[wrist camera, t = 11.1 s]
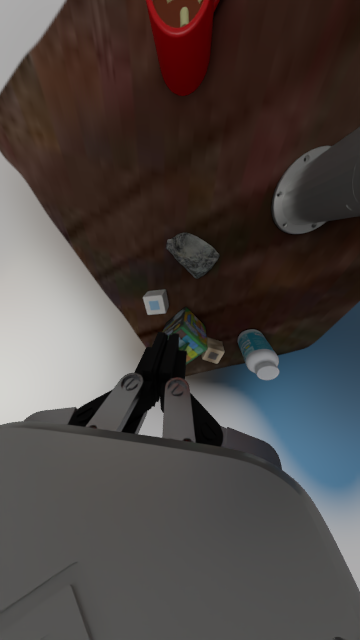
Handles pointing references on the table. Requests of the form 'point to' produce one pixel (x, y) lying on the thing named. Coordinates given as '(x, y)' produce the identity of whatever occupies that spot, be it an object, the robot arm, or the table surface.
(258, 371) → the pill bottle
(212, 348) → the marked block beech
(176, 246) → the stone
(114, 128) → the table surface
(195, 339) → the chalk box
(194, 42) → the mug
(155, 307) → the marked block white
